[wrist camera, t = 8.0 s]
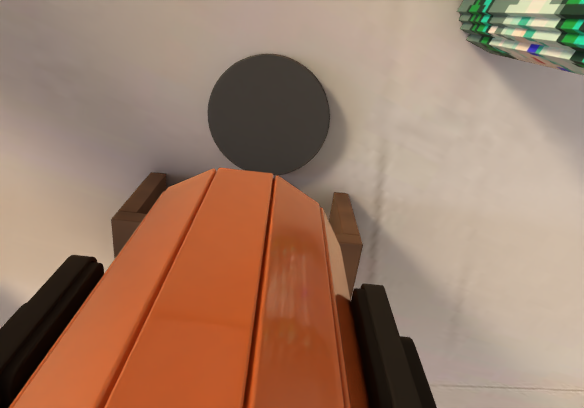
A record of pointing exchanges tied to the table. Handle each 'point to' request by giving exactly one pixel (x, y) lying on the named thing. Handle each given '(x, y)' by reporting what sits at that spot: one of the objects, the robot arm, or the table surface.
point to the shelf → (156, 184)
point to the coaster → (268, 114)
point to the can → (528, 30)
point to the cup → (214, 309)
